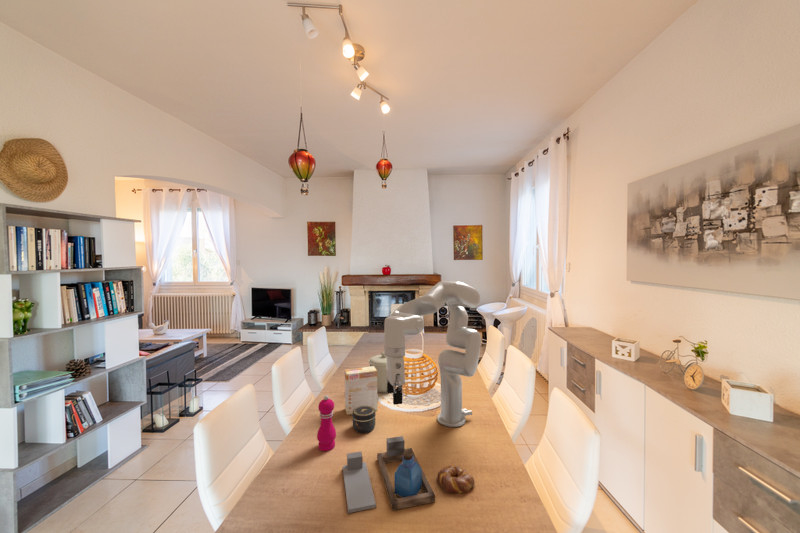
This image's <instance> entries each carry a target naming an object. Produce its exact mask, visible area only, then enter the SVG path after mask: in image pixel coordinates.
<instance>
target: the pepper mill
mask: <svg viewBox="0 0 800 533" xmlns="http://www.w3.org/2000/svg"><path fill="white" fill-rule="evenodd" d="M334 409H335V402H334V401H333V400H332V399H331V398H330V397H329V395H327V394H326V395H324V397H323V399H322V400H320V401H319V403H318V411H319V417H320V425H319V429H318V430H317V434H316V435H317V436H316V439H317V441H318V445H317V446H318V450H320V451H321V452H328V451H332V450H333V449H334V448H335V446H336V440H335V439H336V438H337V431H336V428H335V426H334V423H333V415H334Z"/></svg>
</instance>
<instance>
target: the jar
mask: <svg viewBox="0 0 800 533" xmlns="http://www.w3.org/2000/svg"><path fill="white" fill-rule="evenodd" d="M351 415H352V416H351V417H352V428H353V430H354V432H356V433H359V434H367V433H371V432H372V431H373V430H374V429H375V426H376V410H375V409H374V408H373V407H371V406H359V407H357V408H355V409H354V410H353V413H352V414H351Z"/></svg>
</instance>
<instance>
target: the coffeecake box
mask: <svg viewBox="0 0 800 533" xmlns="http://www.w3.org/2000/svg"><path fill="white" fill-rule="evenodd" d="M359 406H371V407H373V408H374V409H375V411H378V392H377V370H376V369H375V367H374V366H371V367H370V366H365V367H355V368H349V369H348V368H347V369H344V409H345V413H346V415H347V416H349V415H352V413H353V410H354V409H355V408H357V407H359Z"/></svg>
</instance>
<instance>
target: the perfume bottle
mask: <svg viewBox="0 0 800 533" xmlns="http://www.w3.org/2000/svg"><path fill="white" fill-rule="evenodd" d="M413 452H414V451H413ZM413 452H412V451H410V450H406V451H404V452H403V460H402V462H400V464H399V465H398V467H397V468H396V470H395V472H394V479H393V481H394V483H393V484H394V487H393V490H394V493H395V495H397V496H398V497H400V498H403V497H408V496H413V495H418V494H420V493H419V492H420V491H422V488H423V486H422V474H421V468H422V467H421V468H420V467H419V465H418V464H417V462H414V461H413V460H414V459H413Z"/></svg>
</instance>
